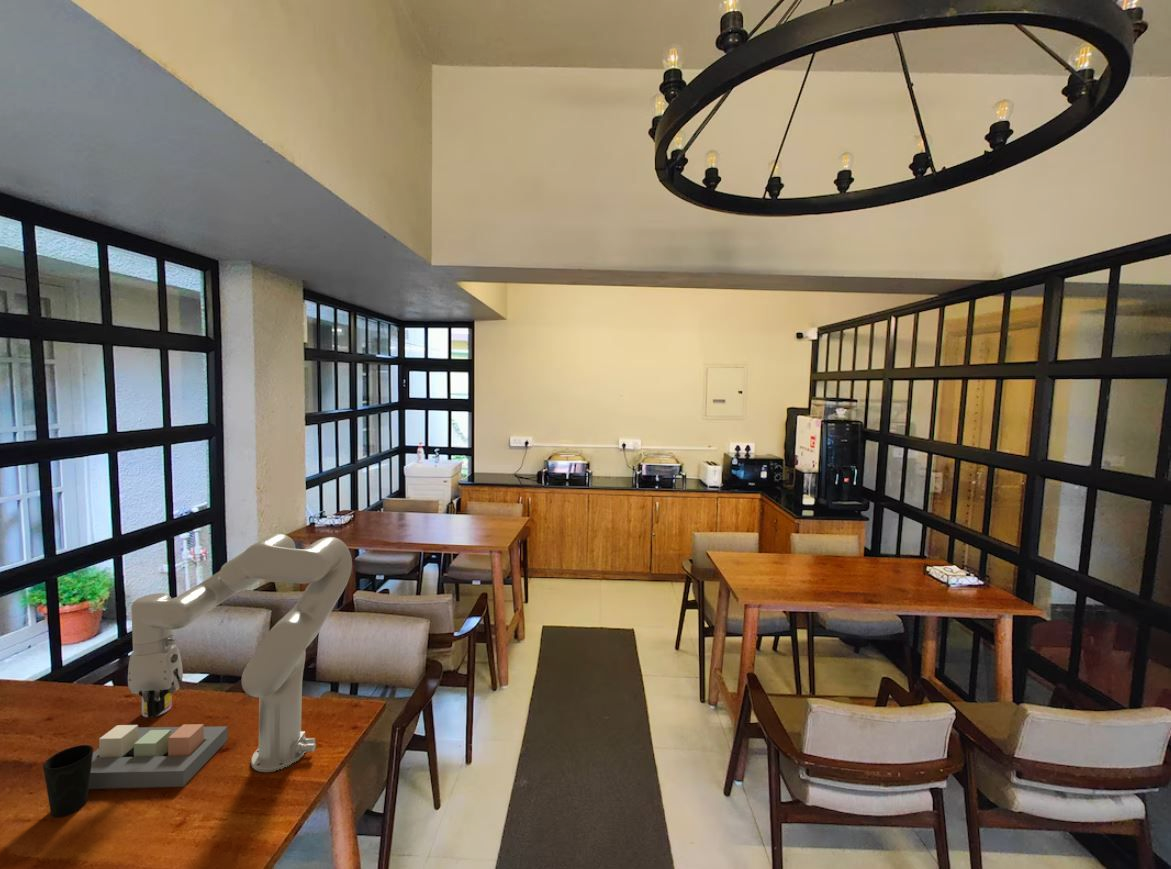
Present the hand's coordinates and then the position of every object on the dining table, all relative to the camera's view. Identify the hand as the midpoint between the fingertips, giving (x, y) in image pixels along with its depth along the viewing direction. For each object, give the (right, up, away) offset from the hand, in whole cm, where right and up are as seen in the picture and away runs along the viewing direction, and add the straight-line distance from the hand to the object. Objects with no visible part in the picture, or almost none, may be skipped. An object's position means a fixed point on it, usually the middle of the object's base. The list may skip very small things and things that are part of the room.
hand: (156, 713), depth 120 cm
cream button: (-9, -9, 0) cm, 13 cm away
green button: (-1, -11, 0) cm, 11 cm away
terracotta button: (+7, -10, +1) cm, 12 cm away
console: (-1, -13, +1) cm, 13 cm away
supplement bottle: (-18, -11, +20) cm, 29 cm away
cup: (-8, -14, -13) cm, 21 cm away
